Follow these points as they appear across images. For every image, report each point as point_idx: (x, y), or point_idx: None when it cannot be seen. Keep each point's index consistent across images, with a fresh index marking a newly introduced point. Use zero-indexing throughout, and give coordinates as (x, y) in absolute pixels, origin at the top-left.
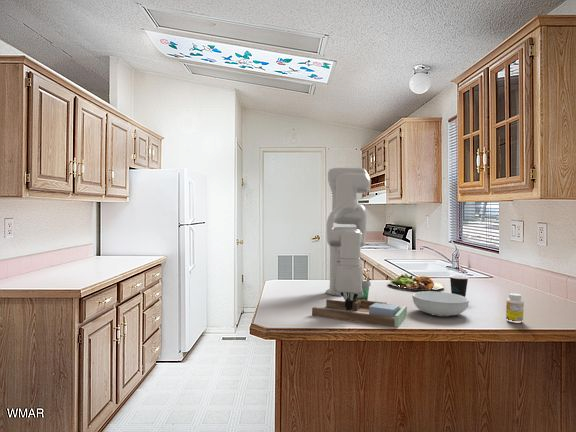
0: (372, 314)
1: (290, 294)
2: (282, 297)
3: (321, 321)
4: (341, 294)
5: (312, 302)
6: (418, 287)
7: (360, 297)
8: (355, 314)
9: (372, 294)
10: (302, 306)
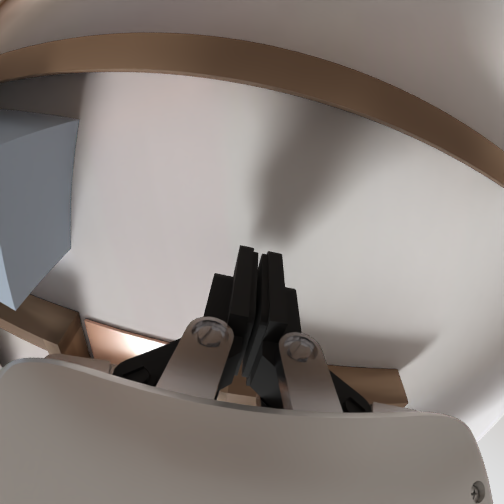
0: (23, 125)
1: None
2: (494, 403)
3: (453, 16)
4: (360, 400)
5: (431, 403)
6: None
7: None
8: (151, 35)
9: None
10: (492, 341)
